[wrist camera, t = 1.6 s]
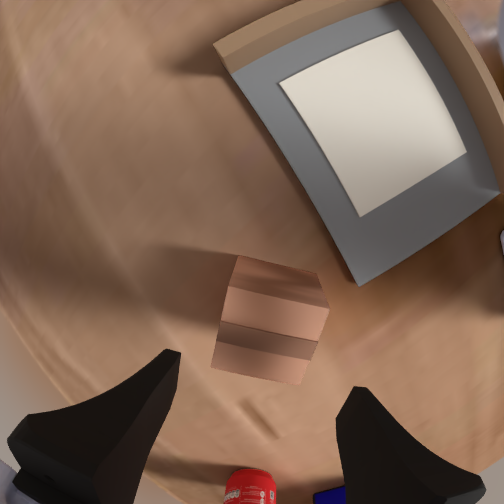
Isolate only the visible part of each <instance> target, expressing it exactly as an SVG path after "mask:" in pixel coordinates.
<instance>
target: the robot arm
mask: <svg viewBox="0 0 504 504" xmlns="http://www.w3.org/2000/svg"><path fill="white" fill-rule="evenodd" d="M500 238H501V244H502V248H503V253H504V230H503V231H502V233H501V236H500ZM180 358H181V353H180V352H177V351H173V350H170V349H165V350H163V351H162V352H161V353H160V354H159V355H158V356H157V357H155V358H154V359H153V360H152V361H151V362H150V363H148V364H147V365H146V366H145V367H143V368H142V369H141V370H139V371H138V372H137V373H135V374H134V375H133V376H131V377H130V378H128V379H127V380H125V381H123V382H122V383H120V384H119V385H117V386H115V387H114V388H112V389H110V390H108V391H106V392H104V393H102V394H100V395H98V396H96V397H94V398H91V399H89V400H87V401H84V402H82V403H79V404H76V405H73V406H69V407H66V408H62V409H59V410H54V411H49V412H42V413H36V414H28V415H27V416H26V417H25V418H24V419H23V420H22V421H21V422H20V423H19V424H18V426H17V427H16V428H15V429H14V431H13V432H12V433H11V435H10V436H9V437H8V438H7V443H8V446H9V448H10V450H11V452H12V454H13V455H14V457H15V459H16V460H17V462H18V464H19V465H20V467H21V469H20V470H19V472H18V473H16V471H14V470H13V469H12V468H11V467H10V466H9V465H7V464H6V463H4V462H3V461H2V460H0V504H133V503H134V499H135V496H136V492H137V489H138V485H139V482H140V479H141V476H142V473H143V470H144V467H145V464H146V461H147V458H148V455H149V453H150V450H151V448H152V446H153V444H154V442H155V439H156V437H157V435H158V433H159V431H160V429H161V427H162V425H163V423H164V421H165V418H166V416H167V414H168V412H169V410H170V407H171V404H172V401H173V398H174V395H175V392H176V389H177V381H178V373H179V366H180ZM336 436H337V443H338V449H339V454H340V459H341V464H342V470H343V475H344V481H345V494H346V504H475V503H477V502H478V501H479V500H480V499H481V498H482V497H483V496H484V494H485V492H486V488H485V485H484V483H483V481H482V479H481V477H480V476H479V475H476V474H474V473H471V472H468V471H466V470H463V469H461V468H459V467H457V466H455V465H453V464H451V463H449V462H447V461H445V460H444V459H442V458H440V457H439V456H437V455H436V454H434V453H433V452H431V451H430V450H429V449H427V448H426V447H425V446H423V445H422V444H421V443H420V442H418V441H417V440H416V439H415V438H414V437H413V436H411V435H410V434H409V433H408V432H407V431H406V430H405V429H404V428H403V427H402V426H401V425H400V424H399V423H398V422H397V421H396V420H395V418H394V417H393V416H392V415H391V414H390V413H389V412H388V411H387V410H386V408H385V407H384V406H383V405H382V404H381V403H380V402H379V400H378V399H377V398H376V397H375V396H374V395H373V394H372V393H371V392H370V391H369V390H368V389H367V388H366V387H357V386H354V387H353V389H352V391H351V392H350V394H349V396H348V398H347V400H346V401H345V403H344V405H343V407H342V408H341V410H340V412H339V414H338V415H337V417H336Z"/></svg>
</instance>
